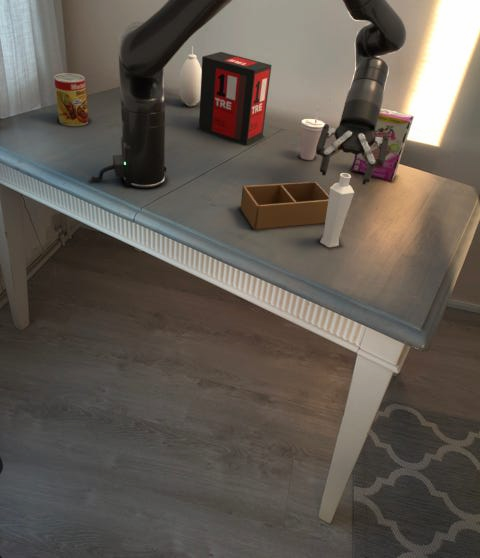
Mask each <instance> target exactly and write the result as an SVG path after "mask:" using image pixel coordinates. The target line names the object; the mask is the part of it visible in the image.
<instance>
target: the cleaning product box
mask: <svg viewBox="0 0 480 558" xmlns="http://www.w3.org/2000/svg"><path fill="white" fill-rule="evenodd" d="M201 70H202V74H201V95H200V101H199V115H198V116H199V117H198V118H199V119H198V130H201V131H203V132H207V133H209V134H213V135H215V136H218V137H221V138H224V139H227V140H230V141H233V142H235V143H239V144H242V145H244V146H247V145H249V144H251V143H253V142H256V141H258V140H259V139H262V138H263V135H264V126H265V119H266V113H267V112H266V111H267V103H268V95H269V88H270V81H271V73H272V64H269V63H266V62H262V61H257V60H255V59H250V58H246V57H242V56H239V55H236V54H231V53H228V52H224V51H218V52H213V53H211V54H210V53H209V54H206V55H202V57H201Z"/></svg>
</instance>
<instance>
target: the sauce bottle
mask: <svg viewBox="0 0 480 558" xmlns="http://www.w3.org/2000/svg"><path fill="white" fill-rule="evenodd" d="M201 74H202V65H201V64H200V62H199V60H198V58H197V55H196V54H194V46H193V45H192V46H191V53H189V54H188V55H187V58H186V59H185V61H184V63H183V65H182V67H181V70H180V73H179V78H178V94H179V97H180V99H181V101H182V102H183V103H184V104H185V105H186V106H187V107H194V106H196V105H197V104H198V103H200V95H201Z"/></svg>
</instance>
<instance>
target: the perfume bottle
mask: <svg viewBox="0 0 480 558" xmlns="http://www.w3.org/2000/svg"><path fill="white" fill-rule="evenodd" d="M351 178H352V175H351V174H350V173H347V172H341V173H340V174H339V180H338V182H335V183H334V184H333V185H331V186H330V188H329V193H328V195H329V200H328V207H327V214H326V221H325V223H324V227H323V234H322V237H321V239H320V240H319V242H320V244H322V245H324V246H325V247H327V248H335V247H339V245H340V241H339V239H340V235H341V233H342V229H343V227H344V224H345V221H346V218H347V215H348V212H349V210H350V206H351V203H352V201H353V197H354V195H355V191H354V189H353V187H352V186H351V185H350V181H351Z"/></svg>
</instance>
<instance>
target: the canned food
mask: <svg viewBox="0 0 480 558" xmlns="http://www.w3.org/2000/svg"><path fill="white" fill-rule="evenodd" d="M53 80H54V88H55V89H54V90H55V96H56V104H57V112H58V120H59V121H58V122H59V123H60V124H61V125H63V126H68V127H82V126H85V125H87V124H88V123H89V114H88V113H89V111H88V101H87V99H88V98H87V89H86V88H87V87H86V78H85V76H84V75H82V74H78V73H74V72H73V73H70V72H67V73H66V72H65V73H64V72H63V73H59V74H56V75H54V77H53Z"/></svg>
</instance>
